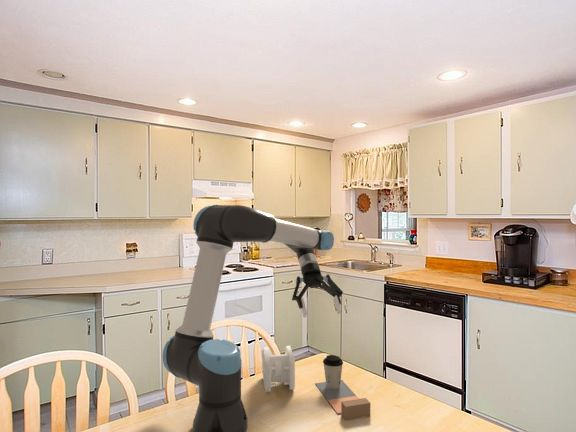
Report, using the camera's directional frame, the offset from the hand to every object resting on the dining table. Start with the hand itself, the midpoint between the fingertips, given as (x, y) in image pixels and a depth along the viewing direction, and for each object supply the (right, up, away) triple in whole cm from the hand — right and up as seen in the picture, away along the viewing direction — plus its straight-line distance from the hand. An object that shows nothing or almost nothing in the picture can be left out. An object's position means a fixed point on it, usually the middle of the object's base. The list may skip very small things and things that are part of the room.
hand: (322, 314), depth 139 cm
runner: (+5, -23, -18) cm, 29 cm away
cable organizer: (-17, -23, -8) cm, 29 cm away
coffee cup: (+3, -22, -10) cm, 25 cm away
